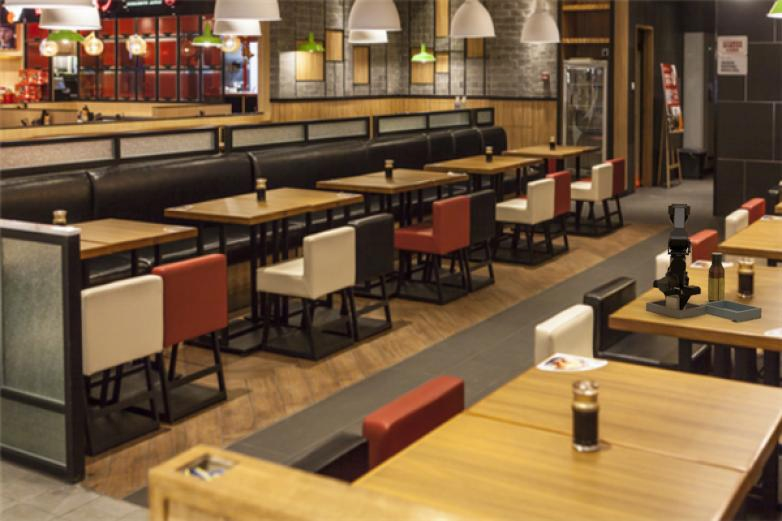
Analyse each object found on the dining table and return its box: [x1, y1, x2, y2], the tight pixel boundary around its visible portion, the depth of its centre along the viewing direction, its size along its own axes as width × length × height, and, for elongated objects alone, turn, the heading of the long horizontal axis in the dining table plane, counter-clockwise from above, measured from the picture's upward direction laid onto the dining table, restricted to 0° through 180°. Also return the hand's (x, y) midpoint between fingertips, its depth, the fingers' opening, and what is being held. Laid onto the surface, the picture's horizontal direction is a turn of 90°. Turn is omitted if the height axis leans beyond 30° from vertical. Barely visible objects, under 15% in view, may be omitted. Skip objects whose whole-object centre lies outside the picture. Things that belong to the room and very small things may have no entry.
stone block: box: [665, 295, 686, 310], centre depth 377 cm, size 5×5×6 cm
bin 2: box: [700, 299, 763, 323], centre depth 374 cm, size 17×14×4 cm
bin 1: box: [645, 298, 706, 320], centre depth 377 cm, size 17×14×4 cm
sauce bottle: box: [707, 252, 726, 303], centre depth 393 cm, size 7×6×20 cm
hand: (675, 309), depth 377 cm, fingers closed on stone block, 5 cm apart
